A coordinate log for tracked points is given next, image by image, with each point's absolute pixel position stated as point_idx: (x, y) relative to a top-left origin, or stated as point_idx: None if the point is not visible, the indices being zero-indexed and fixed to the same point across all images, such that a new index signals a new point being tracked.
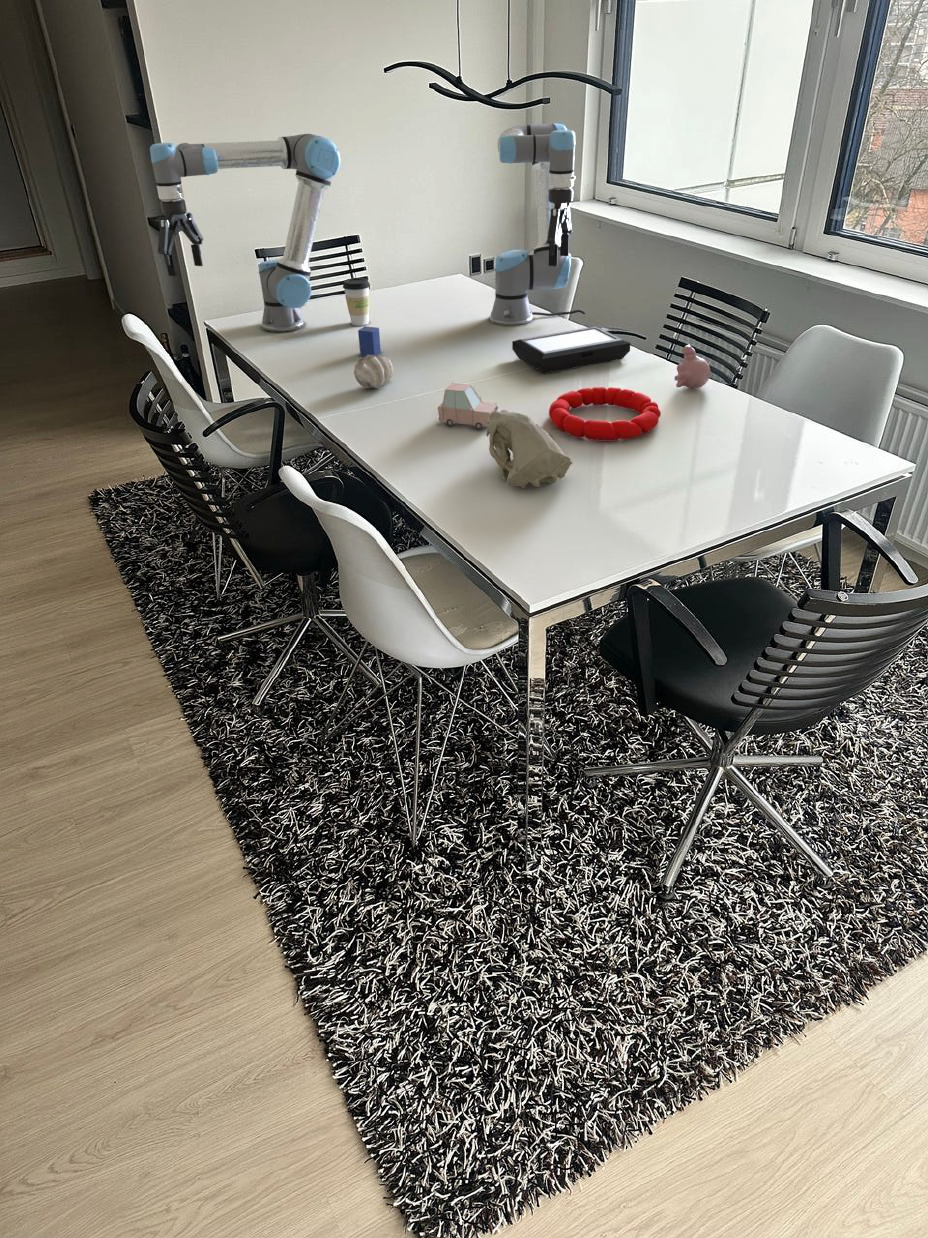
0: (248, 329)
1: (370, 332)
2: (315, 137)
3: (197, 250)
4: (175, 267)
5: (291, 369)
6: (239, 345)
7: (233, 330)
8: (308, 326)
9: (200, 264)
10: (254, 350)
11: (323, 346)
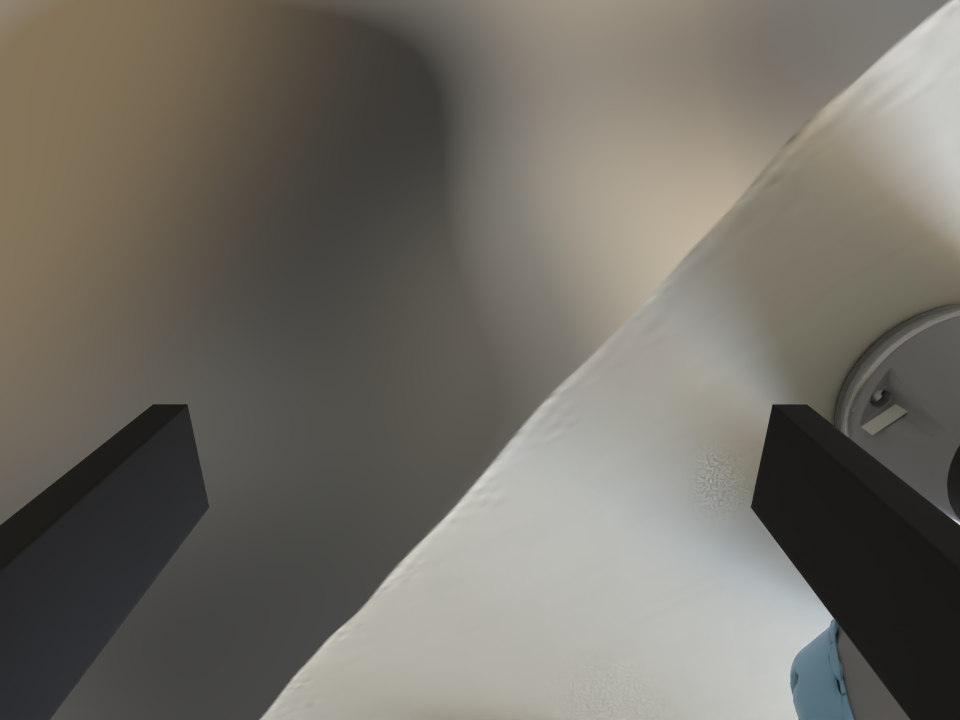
0: (878, 259)
1: None
2: None
3: (898, 679)
4: (148, 583)
5: (415, 670)
6: (619, 363)
7: (856, 188)
8: None
9: (760, 512)
10: (569, 460)
11: (675, 656)
